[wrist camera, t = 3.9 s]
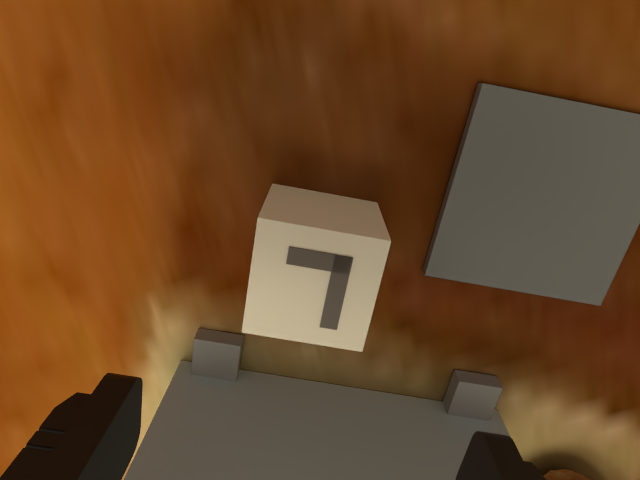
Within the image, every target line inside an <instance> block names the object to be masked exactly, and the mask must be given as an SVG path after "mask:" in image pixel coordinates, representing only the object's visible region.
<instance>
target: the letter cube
mask: <svg viewBox="0 0 640 480" xmlns="http://www.w3.org/2000/svg"><path fill="white" fill-rule="evenodd" d="M390 244H391V239H390V236H389V234H388V231H387V228H386V225H385V222H384V220H383V217H382V214H381V211H380V209H379V206H378V203H377V202H372V201H367V200H361V199H356V198H350V197H345V196H339V195H334V194H328V193H323V192H317V191H312V190H306V189H301V188H295V187H290V186H284V185H279V184H273V183H272V186H271V188H270V190H269V192H268V195H267V197H266V199H265V202H264V204H263V206H262V209H261V211H260V213H259V216H258V219H257V226H256V233H255V240H254V247H253V254H252V262H251V269H250V276H249V283H248V290H247V297H246V304H245V312H244V319H243V326H242V333H248V334H254V335H260V336H266V337H273V338H279V339H285V340H291V341H297V342H304V343H310V344H316V345H322V346H328V347H334V348H341V349H347V350H353V351H359V352H362V351H363V347H364V344H365V340H366V336H367V332H368V328H369V324H370V321H371V317H372V313H373V309H374V305H375V301H376V298H377V294H378V290H379V286H380V282H381V279H382V275H383V271H384V267H385V263H386V259H387V256H388V252H389V248H390Z"/></svg>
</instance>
